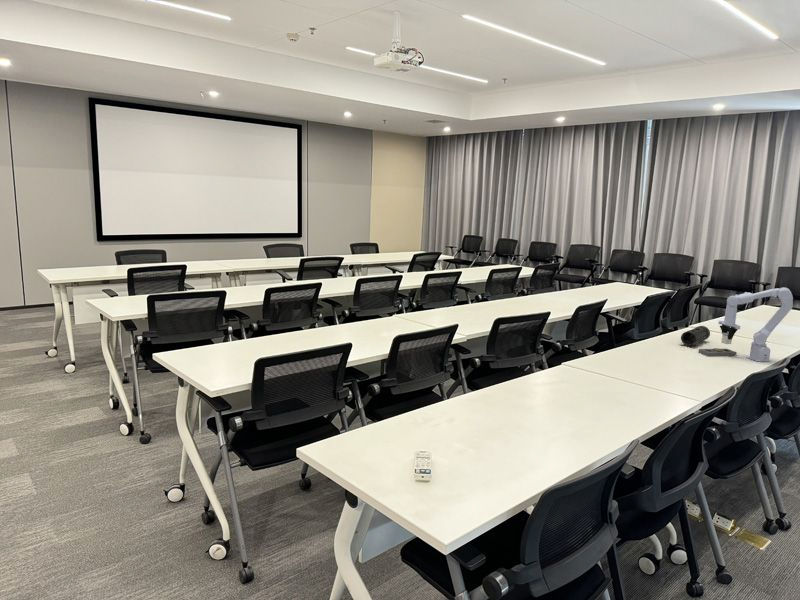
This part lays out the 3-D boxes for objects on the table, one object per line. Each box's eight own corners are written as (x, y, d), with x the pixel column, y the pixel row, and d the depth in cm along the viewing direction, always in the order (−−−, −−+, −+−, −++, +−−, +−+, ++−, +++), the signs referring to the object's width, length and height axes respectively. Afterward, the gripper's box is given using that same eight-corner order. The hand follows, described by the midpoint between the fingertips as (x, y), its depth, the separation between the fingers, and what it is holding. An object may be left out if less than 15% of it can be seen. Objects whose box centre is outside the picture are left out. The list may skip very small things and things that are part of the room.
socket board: (736, 356, 320) (736, 350, 319) (708, 356, 316) (708, 351, 316) (725, 352, 327) (726, 347, 327) (698, 352, 324) (699, 347, 323)
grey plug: (731, 344, 320) (732, 334, 319) (725, 344, 319) (727, 334, 318) (726, 342, 323) (727, 332, 322) (721, 342, 323) (722, 332, 322)
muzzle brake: (679, 345, 341) (681, 329, 339) (694, 339, 360) (696, 324, 358) (695, 348, 334) (697, 332, 332) (709, 342, 353) (712, 326, 351)
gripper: (715, 313, 325) (712, 335, 327) (734, 318, 311) (730, 341, 313) (725, 313, 326) (722, 335, 328) (744, 318, 312) (741, 341, 314)
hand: (727, 338), depth 321 cm, fingers closed on grey plug, 4 cm apart
